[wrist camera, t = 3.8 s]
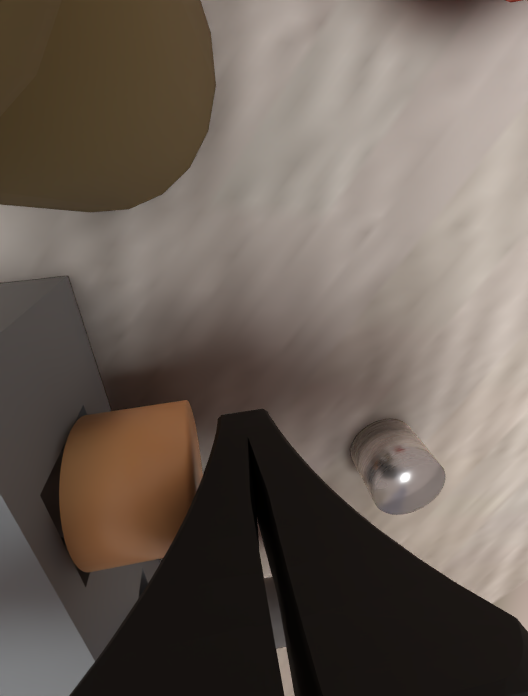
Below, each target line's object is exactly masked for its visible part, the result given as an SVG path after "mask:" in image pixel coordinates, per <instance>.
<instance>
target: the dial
mask: <svg viewBox="0 0 528 696" xmlns="http://www.w3.org/2000/svg"><path fill="white" fill-rule="evenodd" d="M350 453H351V458H352V460H353V462H354V464H355V466H356V468H357V470H358V472H359V474H360V475H361V477H362V479H363V481H364V483H365V485H366V487H367V489H368V491H369V493H370V494H371V496H372V498H373V500H374V502H375V504H376V505H377V507H378V508H379V509H380V510H382V511H383V512H385V513H389V514H396V515H398V514H407V513H411V512H414V511H416V510H418V509H420V508H422V507H424V506H426V505H427V504H429V503H430V502H431V501H432V500H433V499H435V498H436V496H437V495H438V494H439V493H440V491H441V490H442V488H443V486H444V483H445V471H444V469H443V467H442V466H441V465H440V464H439V462H438V461H437V460H436V459H435V458H434V456H433V455H432V454H431V453H430V451H429V450H428V449H427V448H426V447H425V445H424V444H423V443H422V442H421V440H420V439H419V438H418V437H417V435H416V434H415V433H414V432H413V431H412V429H411V428H410V427H409V426H408V425H407V424H406V423H405V422H403V421H400V420H397V419H384V420H380V421H377V422H374V423H372V424H370V425H368V426H367V427H365V428H364V429H363V430H362V431H360V433H359V434H358V435H357V436H356V437H355V439H354V441H353V443H352V445H351V451H350Z"/></svg>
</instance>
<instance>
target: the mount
mask: <svg viewBox="0 0 528 696" xmlns="http://www.w3.org/2000/svg"><path fill="white" fill-rule="evenodd" d="M110 411H111V408H110V405H109V402H108V399H107V396H106V393H105V390H104V387H103V384H102V381H101V377H100V374H99V371H98V368H97V365H96V362H95V359H94V356H93V353H92V350H91V346H90V343H89V340H88V337H87V334H86V331H85V328H84V325H83V322H82V319H81V315H80V312H79V309H78V306H77V303H76V300H75V297H74V294H73V291H72V288H71V285H70V281H69V278H68V276H63V277H54V278H44V279H35V280H26V281H17V282H8V283H0V696H69V695H70V694H71V692H72V691H73V690H74V689H75V687H76V686H77V685H78V683H79V682H80V681H81V679H82V678H83V677H84V675H85V674H86V673H87V671H88V670H89V669H90V667H91V666H92V665H93V664H94V662H95V661H96V660H97V658H98V657H99V656H100V654H101V653H102V651H103V650H104V649H105V647H106V646H107V644H108V643H109V642H110V640H111V639H112V637H113V636H114V634H115V633H116V631H117V630H118V628H119V627H120V625H121V624H122V622H123V621H124V619H125V618H126V616H127V615H128V613H129V612H130V610H131V609H132V608H133V606H134V605H135V603H136V602H137V600H138V599H139V597H140V596H141V594H142V593H143V591H144V589H145V588H146V586H147V585H148V583H149V581H150V580H151V578H152V576H153V575H154V573H155V571H156V570H157V568H158V566H159V564H160V560H159V559H155V560H150V561H145V562H140V563H135V564H130V565H125V566H120V567H115V568H110V569H104V570H99V571H94V572H83V571H82V570H80V569H79V568H78V567H77V566H76V565H75V563H74V562H73V560H72V558H71V556H70V554H69V552H68V549H67V546H66V543H65V540H64V538H62V539H61V537H60V535H59V533H58V531H57V529H56V527H55V525H54V523H53V521H52V519H51V517H50V515H49V513H48V511H47V509H46V507H45V505H44V503H43V501H42V499H41V496H40V494H41V492H42V490H43V488H44V486H45V484H46V481H47V479H48V477H49V475H50V473H51V471H52V469H53V467H54V465H55V463H56V461H57V459H58V456H59V454H60V452H61V451H64V448H65V444H66V441H67V438H68V436H69V433H70V431H71V429H72V427H73V425H74V424H75V423H76V421H77V420H78V419H79V418H80V417H82V416H84V415H90V414H96V413H103V412H110Z"/></svg>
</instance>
